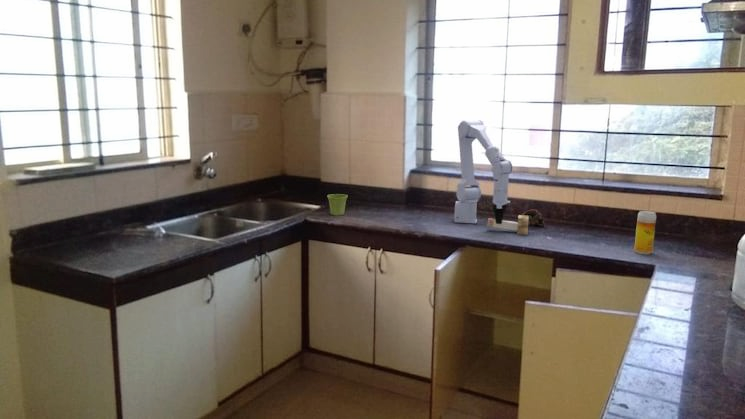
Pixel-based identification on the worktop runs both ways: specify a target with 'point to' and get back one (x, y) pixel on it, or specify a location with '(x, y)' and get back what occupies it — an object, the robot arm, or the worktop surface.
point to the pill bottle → (645, 232)
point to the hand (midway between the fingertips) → (498, 222)
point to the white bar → (503, 224)
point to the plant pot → (337, 203)
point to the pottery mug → (534, 217)
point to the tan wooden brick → (522, 224)
